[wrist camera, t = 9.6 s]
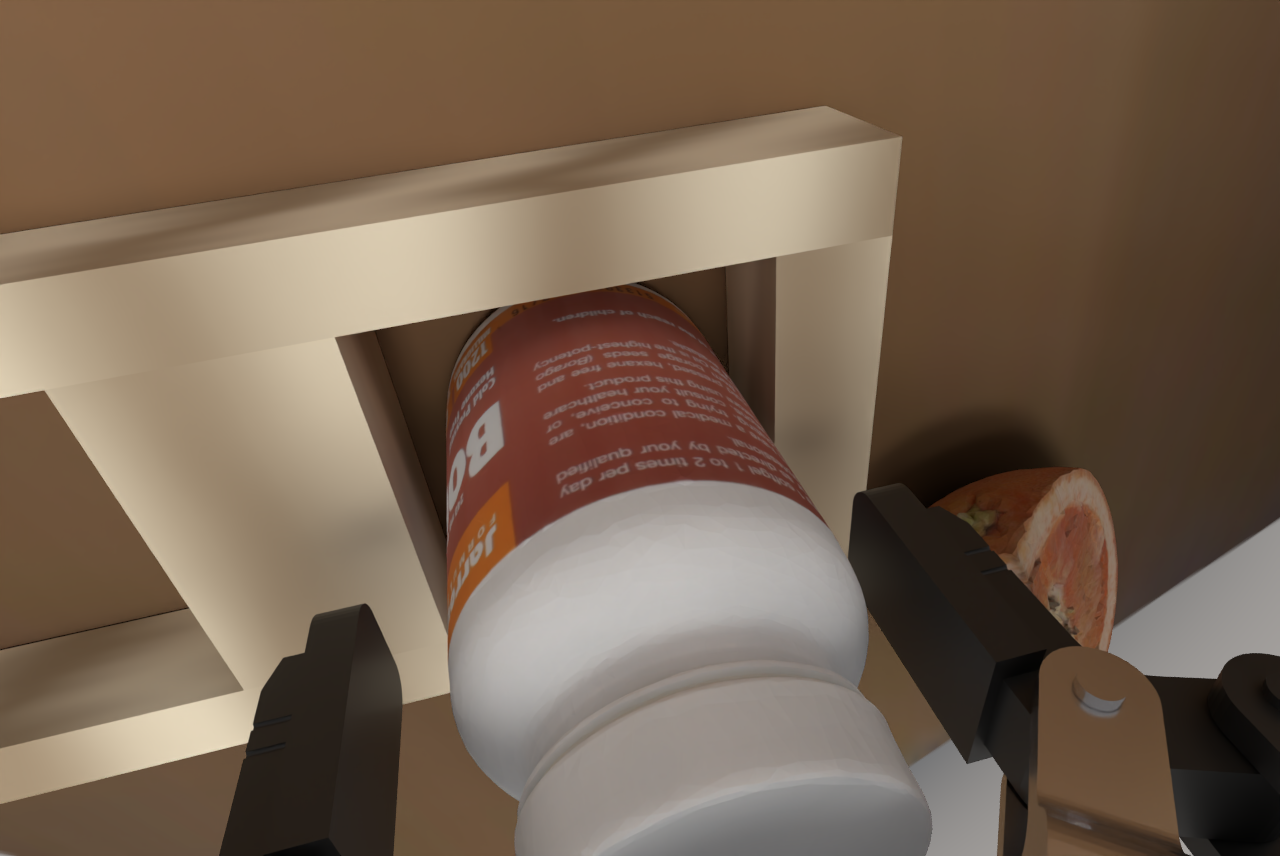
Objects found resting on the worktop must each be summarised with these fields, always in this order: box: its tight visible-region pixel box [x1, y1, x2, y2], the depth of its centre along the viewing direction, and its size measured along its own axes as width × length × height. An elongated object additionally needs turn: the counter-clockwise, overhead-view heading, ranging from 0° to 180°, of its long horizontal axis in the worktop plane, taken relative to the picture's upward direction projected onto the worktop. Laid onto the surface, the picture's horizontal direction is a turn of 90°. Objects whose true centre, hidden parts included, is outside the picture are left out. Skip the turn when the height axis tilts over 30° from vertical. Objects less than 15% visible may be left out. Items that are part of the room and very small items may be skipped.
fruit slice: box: [929, 467, 1118, 652], centre depth 20 cm, size 8×7×5 cm
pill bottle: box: [446, 283, 932, 856], centre depth 12 cm, size 6×6×11 cm
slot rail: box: [0, 106, 902, 804], centre depth 15 cm, size 24×11×3 cm, turn 97°
